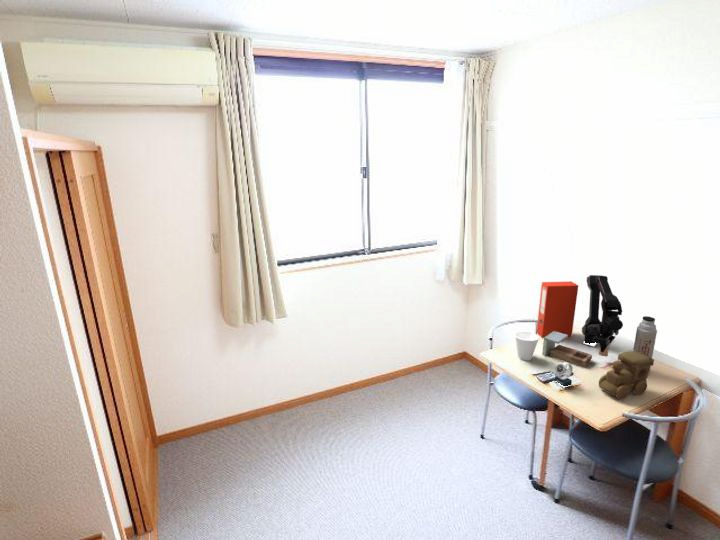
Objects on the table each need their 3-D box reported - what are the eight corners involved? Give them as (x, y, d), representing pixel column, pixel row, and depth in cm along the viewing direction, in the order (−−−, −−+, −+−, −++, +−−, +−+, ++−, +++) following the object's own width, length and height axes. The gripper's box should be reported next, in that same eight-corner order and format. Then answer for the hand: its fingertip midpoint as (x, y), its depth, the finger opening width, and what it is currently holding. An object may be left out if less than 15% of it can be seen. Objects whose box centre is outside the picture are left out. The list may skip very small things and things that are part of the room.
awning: (551, 347, 230) (553, 331, 227) (565, 351, 224) (567, 335, 222) (542, 354, 222) (544, 337, 219) (556, 359, 216) (558, 342, 214)
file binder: (571, 337, 241) (578, 285, 232) (542, 338, 241) (547, 286, 232) (565, 331, 249) (571, 281, 240) (536, 332, 249) (541, 281, 240)
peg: (600, 351, 215) (602, 337, 212) (608, 354, 212) (611, 340, 210) (597, 354, 212) (599, 340, 210) (606, 357, 209) (608, 342, 207)
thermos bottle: (647, 376, 198) (657, 322, 191) (628, 371, 204) (637, 318, 196) (650, 370, 204) (660, 317, 196) (631, 365, 209) (640, 313, 202)
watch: (551, 383, 195) (553, 362, 192) (564, 379, 197) (567, 359, 194) (560, 389, 190) (563, 367, 187) (574, 385, 192) (576, 364, 189)
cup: (530, 351, 226) (532, 330, 222) (540, 362, 214) (543, 340, 211) (509, 352, 225) (511, 331, 222) (518, 363, 214) (520, 341, 211)
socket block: (558, 350, 226) (558, 344, 225) (591, 360, 214) (592, 354, 213) (550, 356, 220) (550, 350, 219) (583, 367, 208) (584, 361, 207)
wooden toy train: (627, 380, 195) (632, 348, 191) (650, 393, 185) (656, 360, 180) (594, 389, 189) (599, 356, 185) (616, 402, 179) (622, 368, 174)
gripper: (597, 313, 219) (593, 340, 223) (583, 323, 207) (579, 351, 211) (621, 318, 211) (616, 346, 215) (608, 329, 199) (603, 358, 203)
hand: (603, 350), depth 211 cm, fingers closed on peg, 4 cm apart
